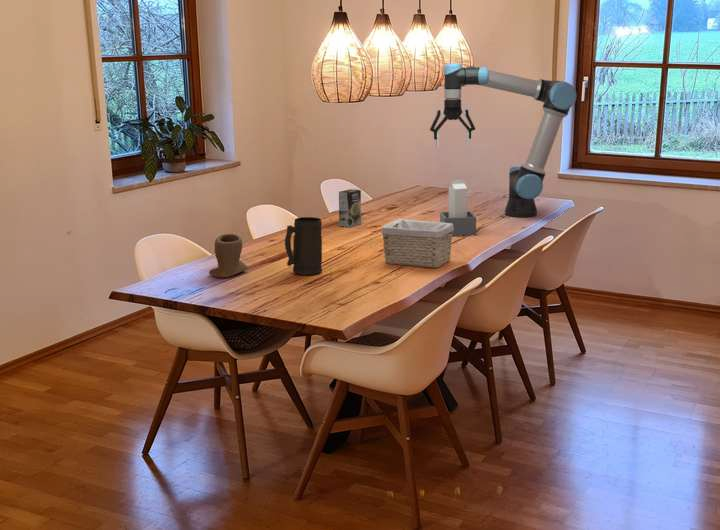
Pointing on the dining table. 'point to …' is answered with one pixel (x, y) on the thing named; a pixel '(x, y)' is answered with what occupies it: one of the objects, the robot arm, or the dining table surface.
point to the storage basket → (417, 242)
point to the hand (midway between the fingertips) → (452, 146)
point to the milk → (457, 199)
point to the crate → (460, 223)
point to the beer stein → (305, 245)
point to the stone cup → (228, 256)
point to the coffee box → (349, 208)
